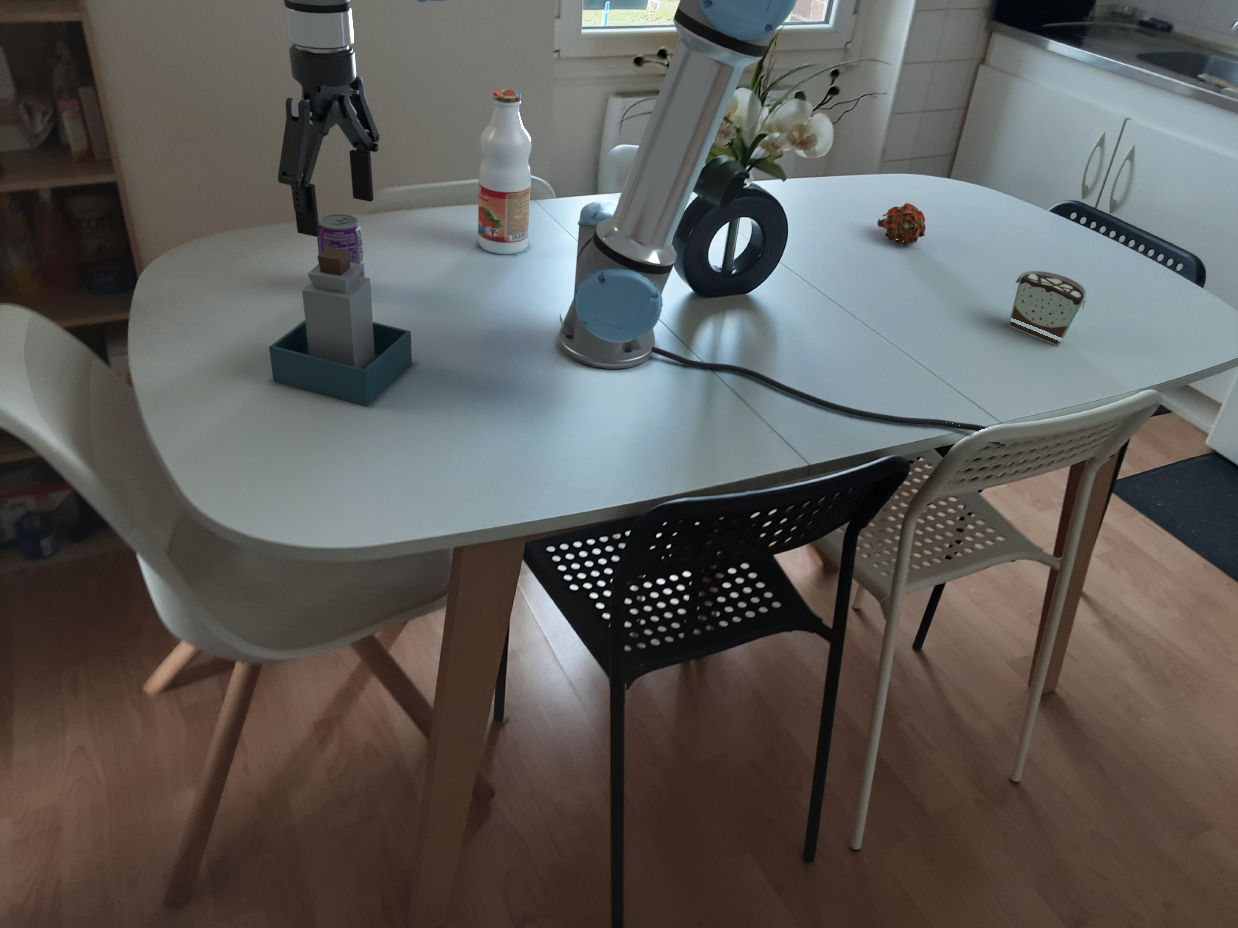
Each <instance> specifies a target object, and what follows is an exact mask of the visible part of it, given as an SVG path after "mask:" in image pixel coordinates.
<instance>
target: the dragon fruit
mask: <svg viewBox="0 0 1238 928" xmlns="http://www.w3.org/2000/svg"><path fill="white" fill-rule="evenodd" d="M881 217H884V218H882V219H881V218H878V219H877V227H879V228H883V229H884V230H886V232H885V233H884V236H885V238H887V240H889V241H895V243H896V244H899V245H901V246H907V245H908V244H909V245H910V244H911V245H913V244H915V243H917V242H918V240H919V238H922V237H925V236H926V224H925V222H926V218H925V215H924V213H923V211H922V210H919V208H918V207H916V206H915V205H914V204H912V203H909V202H905V203H904V204H903V205H902V206H893V207H890V208H889V209H888V210H887V212H886V213H883V215H882V216H881ZM896 239H898V240H896ZM903 241H904V242H903Z"/></svg>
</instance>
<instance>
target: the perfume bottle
mask: <svg viewBox="0 0 1238 928" xmlns="http://www.w3.org/2000/svg"><path fill="white" fill-rule="evenodd" d="M350 252H351V251H348V250H343V249H337V248H331V247H327V248H326V249H325V250H324V251H323V252H322V253H320V254H319V253H318V255H317V261H318V264H316V266H315V267H313V268H312V269H311V270H309V272H307V275H308V278H309V280H310V282H309V283H308V284H307V285H305V286H304V288H302V290H301V292H302V301H303V311H304V320H305V321H306V330H307V340H308V349H309V355H310V356H314V357H318V358H322V359H326V360H329V361H333V362H337V363H341V364H345V365H349V366H353V367H357V368H360V369H365V368H366V367H368V366H369V365H370V364H371V363H372V362H373V361H374V360H375V352H374V336H373V322H374V321H373V308H372V307H373V306H372V289H371V288H372V287H371V277H366V276H365V277H360V273H361V269H362V264H357V263H351V262H350Z"/></svg>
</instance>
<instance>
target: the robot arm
mask: <svg viewBox="0 0 1238 928" xmlns="http://www.w3.org/2000/svg"><path fill="white" fill-rule="evenodd" d="M416 1H417V2H419V3H425V2H446V1H447V0H416ZM797 1H798V0H679V2H678V5H677V7H676V10H675V13H674V16H673V18H672V22H673V24H674V26H675V29H676V32H677V35H678V41H677V44H676V47H675V50H674V52H673V55H672V57H671V61H670V63H669V66H668V68H667V70H666V73H665V77H664V79H663V81H662V84H661V86H660V89H659V93H658V94H657V97H656V100H655V103H654V105H653V108H652V110H651V113H650V116H649V118H648V121H647V124H646V126H645V129H644V132H643V135H642V137H641V140H640V142H639V145H638V147H637V150H636V153H635V154H634V155H635V156H634V158H633V161H632V164H631V166H630V169H629V171H628V174H627V178H626V180H625V182H624V185H623V186H622V190H621V193H620V196H619V198H618V200H601V201H600V200H599V201H594V202H590V203H588V204H585V205H584V206H583V207H582V208H581V210H580V214H579V221H578V222H577V226H578V234H577V247H576V263H575V273H574V274H575V276H574V290H573V299H572V301H571V304H570V305H569V307H568V310H567V312H566V315H565V317H564V319H563V318H562V314H561V313H559V322H560V325H561V326H560V330H559V338H558V339H559V340H558V345H559V347H560V349H561V350H562V352H563V353H564V355H566V356H567V357H569V358H571V359H572V360H574V361H576V362H578V363H580V364H583V365H586V366H589V367H593V368H598V369H607V370H609V369H610V370H618V369H620V370H621V369H628V368H633V367H636V366H637V367H638V366H640V365H642V364H644V363H646V362H648V361H649V360H650V359H651V358H652V356H653V355H654V354H656V355H659V356H663V357H664V358H668V359H671V360H673V361H675V362H678V363H681V364H683V365H686V366H691V367H693V368H694V367H695V368H701V369H708V370H710V369H711V370H720V371H721V370H722V371H729V372H734V373H735V372H736V373H739V374H743V375H746V376H748V377H751V378H755V379H756V380H759V381H761V382H763V383H765V384H767V385H769V386H772V387H774V388H776V389H778V390H780V391H782V392H784V393H787V394H790V395H792V396H795V397H797V398H800V399H802V400H805V401H807V402H810V403H812V404H815V405H818V406H821V407H824V408H827V409H829V410H833V411H836V412H841V413H843V414H844V413H845V414H849V415H851V416H857V417H861V418H866V419H869V420H870V419H871V420H877V421H883V422H884V421H885V422H890V423H897V424H904V425H919V426H920V425H922V426H924V425H925V426H937V427H944V428H951V429H958V430H966V431H973V432H974V431H975V432H979V430H981V429H985V428H989V427H987V426H984V425H981V424H975V423H965V422H957V421H953V420H947V419H939V418H937V419H936V418H924V417H923V418H922V417H906V416H897V415H891V414H885V413H884V414H883V413H878V412H872V411H867V410H862V409H857V408H853V407H849V406H845V405H841V404H838V403H835V402H832V401H828V400H825V399H822V398H819V397H816V396H814V395H811V394H809V393H806V392H804V391H801V390H798V389H796V388H793V387H791V386H788V385H786V384H784V383H781V382H780V381H777V380H775V379H773V378H771V377H769V376H767V375H764V374H762V373H760V372H758V371H756V370H753V369H750V368H746V367H743V366H739V365H734V364H729V363H720V362H719V363H718V362H706V361H700V360H694V359H691V358H687V357H683V356H681V355H679V354H676V353H674V352H670V351H668V350H665V349H663V348H659V347H656V345H655V344H656V336H655V330H654V328H655V326H656V325H657V324H658V322H659V320H660V317H661V313H662V311H663V306H664V304H663V296H662V295H663V292H664V289H665V287H666V285H667V282H668V279H670V278H669V277H670V275H671V273H672V270H673V268H674V265H675V262H676V261H677V258H678V253H677V251H676V249H675V246H674V244H673V239H674V237H675V234H676V232H677V229H678V227H679V225H680V222H681V220H682V218H683V216H684V213H685V210H686V208H687V205H688V204H689V201H690V199H691V197H692V194H693V191H694V189H695V187H696V185H697V182H698V180H699V177H700V175H701V172H702V170H703V168H704V165H705V163H706V161H707V159H708V156H709V153H710V151H711V148H712V147H713V144H714V142H715V139H716V137H717V134H718V132H719V129H720V127H721V125H722V123H723V120H724V117H725V116H726V113H727V111H728V108H729V106H730V104H731V101H732V99H733V97H734V94H735V91H736V89H737V87H738V84H739V82H740V80H741V78H742V75H743V73H744V70H745V68H747V67H748V66H750V65H752V64H755V63H756V62H759V61H761V60H762V59H763V58H764V57H765V53H766V50H767V48H768V46H769V45H770V42H771V40H772V37H773V35H774V33H775V30H776V29H778V28H780V27H781V25H783V23H784V22H785V21H786V20H787V19H788V17H790V15H791V13H792V11H793V10H794V8H795V6H796V4H797ZM283 2H284V9H285V19H286V29H287V39H288V41H289V43H291V44H292V45H291V46H290V47H289V49H288V51H289V52H288V53H289V60H290V61H289V62H290V70H291V76H292V78H293V79H294V80H295V81H296V82H298V84H299V85H300V86H301V97H300V98H293V97H287V98H286V99H285V123H284V125H285V126H284V132H283V137H282V138H283V139H282V145H281V153H280V159H279V167H278V174H277V182H278V183H279V184H282V185H287V186H290V187H291V188H290V189H291V195H292V204H293V209H294V214H295V222H296V223H295V224H296V230H297V233H298V234H301V235H306V236H309V237H316V238H317V236H319V235H320V231H319V213H318V204H317V193H316V185H315V184H313V183H311V181H312V177H313V174H314V171H315V167H316V164H317V161H318V157H319V153H320V151H321V147H322V143H323V140H324V137H326V136H328V135H329V133H330V129H332V128H333V127H335V125H338V128H339V129H340V130H341V131H342V133H343V134H344V136H345V137H346V138H347V140H348V142H349V143H350V145H351V147H352V148H353V149H351V150H349V153H348V154H349V165H350V177H351V189H352V198H353V199H356V200H361V201H364V202H369V203H372V201H374V187H373V172H372V171H373V170H372V158H371V156H372V155H371V153H377V152H378V150H379V144H378V143H379V142H380V138H381V137H380V133H379V131H378V128H377V125H376V122H375V120H374V117H373V114H372V111H371V108H370V105H369V103H368V100H367V96H366V94H365V87H364V80H363V77H361V76H357V69H356V68H357V67H356V54H355V53H356V52H355V50H354V48H353V47H352V46H351V45H353V44H354V43H355V35H354V26H353V25H354V23H353V14H352V13H353V12H352V1H351V0H283ZM946 422H947V423H946ZM952 423H953V424H952ZM959 425H960V426H959Z"/></svg>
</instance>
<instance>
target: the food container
mask: <svg viewBox="0 0 1238 928" xmlns="http://www.w3.org/2000/svg"><path fill="white" fill-rule="evenodd" d="M1014 283H1015V284H1017V283H1018V285H1017V288H1016V293H1015V297H1014V301H1013V305H1012V309H1011V313H1010V317H1009V319H1010V318H1013V319H1016V320H1019V321H1021V322H1024V323H1026V324H1029V325H1032V326H1034V327H1037V328H1039V329H1042V330H1045V331H1047V332H1049V333H1051V334H1053V335H1056V336H1058V337H1061V338H1063V339H1064V337H1065V335H1066V333H1067V332H1068V330H1069V328H1070V327H1071V325H1072V322H1073V321H1074V319H1075V317H1076V315H1077V313H1078V312H1079V310H1080V308H1081V309H1082V310H1084V309H1085V307H1086V303H1087V297H1088V296H1087V290H1086V288H1085V287H1084V286H1083V285H1082V284H1081V283H1079V282H1077V281H1076V280H1074V279H1071V278H1069V277H1067V276H1064V275H1062V274H1058V273H1054V272H1050V271H1043V270H1028V271H1024V272H1021V273H1020V275H1019V276H1018V277H1017V278H1016V280H1015V282H1014ZM1007 326H1008V327H1009V328H1012V329H1014V330H1016V331H1019V332H1021V333H1024V334H1026V335H1029V336H1031V337H1033V338H1035V339H1039V340H1041V341H1043V342H1045V343H1048V344H1051V345H1053V346H1056V347H1059V346H1060V345H1061V343H1062V341H1063V339H1062V340H1061V342H1060V341H1058V340H1055V339H1053V338H1050V337H1048V336H1045V335H1043V334H1040V333H1038V332H1036V331H1033V330H1031V329H1028V328H1026V327H1023V326H1021V325H1018V324H1016V323H1014V322H1011V321H1010V320H1009V322H1008V325H1007Z"/></svg>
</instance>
